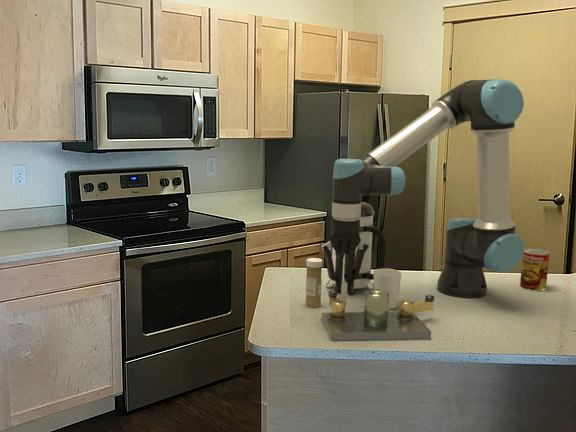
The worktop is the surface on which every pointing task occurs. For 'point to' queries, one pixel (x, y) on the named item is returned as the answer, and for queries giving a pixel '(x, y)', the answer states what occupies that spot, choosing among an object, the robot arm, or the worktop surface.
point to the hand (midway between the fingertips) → (341, 305)
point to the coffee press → (366, 238)
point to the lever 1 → (336, 306)
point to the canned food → (534, 269)
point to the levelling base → (374, 332)
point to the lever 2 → (415, 307)
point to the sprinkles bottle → (313, 282)
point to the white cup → (388, 284)
